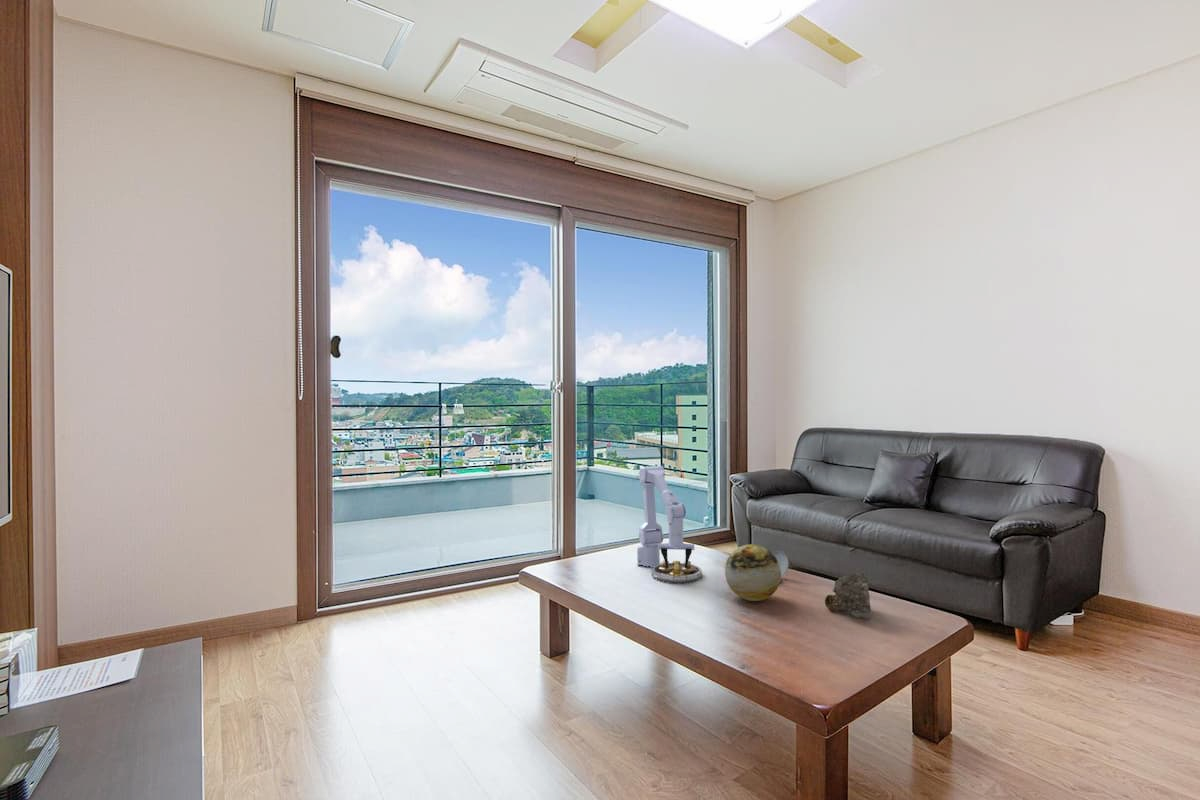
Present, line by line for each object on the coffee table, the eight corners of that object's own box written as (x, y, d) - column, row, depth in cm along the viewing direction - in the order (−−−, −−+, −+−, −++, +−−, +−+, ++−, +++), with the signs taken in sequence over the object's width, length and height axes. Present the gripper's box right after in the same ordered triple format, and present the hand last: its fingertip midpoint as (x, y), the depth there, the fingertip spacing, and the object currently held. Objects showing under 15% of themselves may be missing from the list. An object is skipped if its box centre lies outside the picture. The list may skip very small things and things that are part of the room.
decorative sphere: (718, 604, 218) (717, 548, 218) (733, 588, 235) (732, 536, 235) (775, 612, 209) (774, 554, 208) (786, 595, 226) (785, 541, 226)
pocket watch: (791, 553, 244) (764, 559, 236) (791, 580, 244) (764, 587, 236) (771, 548, 252) (745, 553, 245) (772, 574, 253) (746, 581, 245)
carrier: (643, 579, 249) (643, 566, 249) (663, 566, 267) (663, 554, 267) (691, 586, 239) (691, 573, 239) (708, 572, 257) (708, 560, 257)
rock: (880, 568, 200) (832, 556, 206) (874, 609, 192) (824, 595, 198) (874, 592, 213) (829, 580, 219) (868, 631, 205) (821, 617, 211)
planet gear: (666, 577, 246) (666, 562, 246) (672, 573, 251) (672, 559, 251) (680, 579, 243) (680, 564, 243) (686, 575, 248) (686, 560, 248)
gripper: (657, 535, 244) (658, 569, 244) (694, 536, 242) (694, 570, 242) (658, 531, 251) (658, 564, 251) (693, 532, 249) (694, 565, 249)
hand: (676, 567), depth 247 cm, fingers open, 7 cm apart
